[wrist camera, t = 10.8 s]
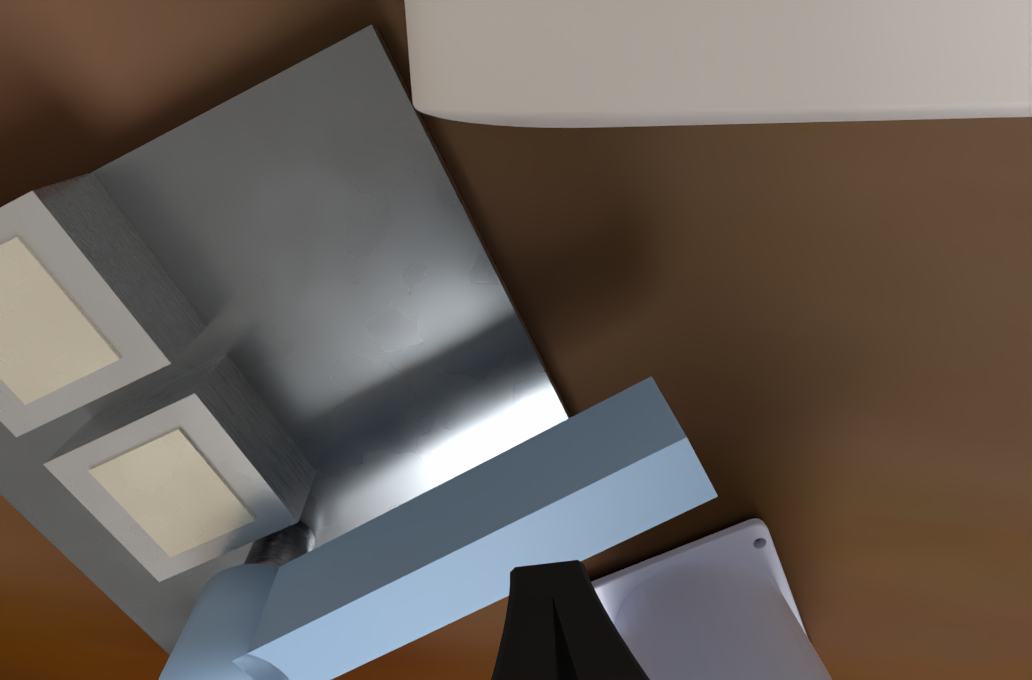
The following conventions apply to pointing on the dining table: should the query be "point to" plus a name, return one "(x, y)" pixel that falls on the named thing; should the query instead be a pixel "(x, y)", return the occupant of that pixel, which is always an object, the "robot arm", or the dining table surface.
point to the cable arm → (447, 548)
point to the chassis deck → (312, 309)
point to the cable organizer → (718, 61)
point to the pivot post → (282, 546)
